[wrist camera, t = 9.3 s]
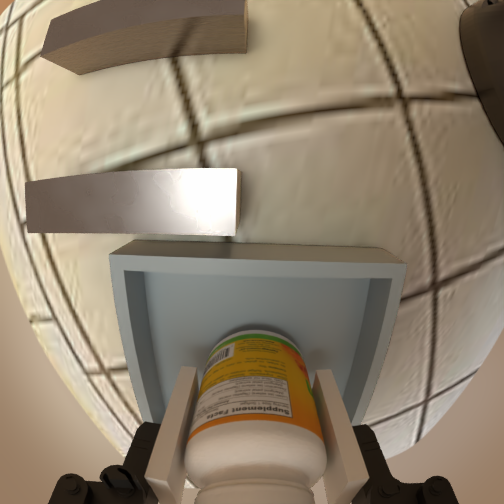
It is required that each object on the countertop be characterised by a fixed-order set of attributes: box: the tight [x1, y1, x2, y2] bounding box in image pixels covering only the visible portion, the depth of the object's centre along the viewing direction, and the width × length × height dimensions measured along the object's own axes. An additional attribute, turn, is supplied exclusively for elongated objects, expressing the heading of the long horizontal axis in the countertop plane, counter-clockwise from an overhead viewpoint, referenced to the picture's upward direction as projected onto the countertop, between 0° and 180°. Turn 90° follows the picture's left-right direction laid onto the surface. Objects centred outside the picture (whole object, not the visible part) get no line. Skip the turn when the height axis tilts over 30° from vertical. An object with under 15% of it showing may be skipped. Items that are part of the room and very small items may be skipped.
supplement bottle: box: [184, 330, 327, 504], centre depth 10 cm, size 5×5×10 cm
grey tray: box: [109, 240, 407, 426], centre depth 15 cm, size 13×13×3 cm
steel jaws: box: [25, 0, 248, 236], centre depth 11 cm, size 10×11×4 cm
